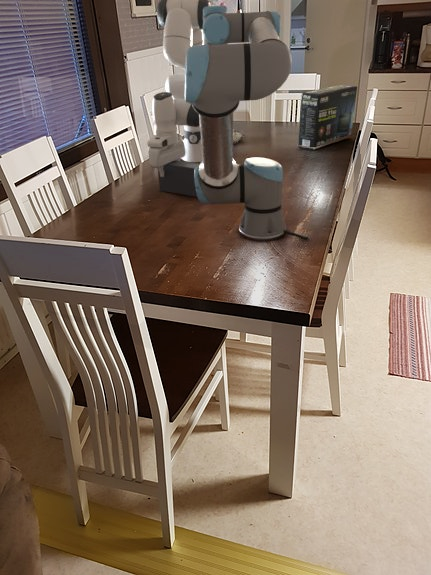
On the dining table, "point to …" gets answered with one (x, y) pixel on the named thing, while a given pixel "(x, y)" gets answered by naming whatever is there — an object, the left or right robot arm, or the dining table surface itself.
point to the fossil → (237, 135)
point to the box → (179, 178)
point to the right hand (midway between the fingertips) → (218, 132)
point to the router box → (326, 115)
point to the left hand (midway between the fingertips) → (169, 173)
